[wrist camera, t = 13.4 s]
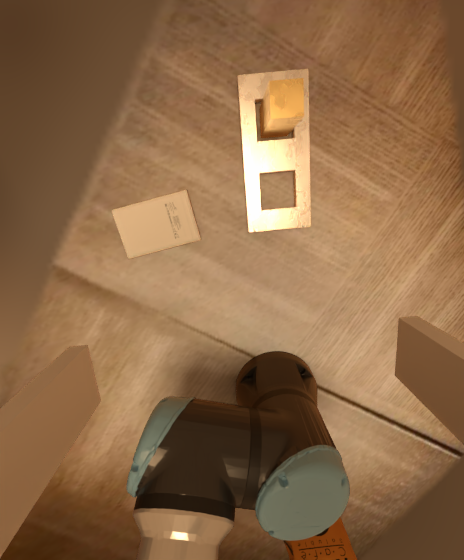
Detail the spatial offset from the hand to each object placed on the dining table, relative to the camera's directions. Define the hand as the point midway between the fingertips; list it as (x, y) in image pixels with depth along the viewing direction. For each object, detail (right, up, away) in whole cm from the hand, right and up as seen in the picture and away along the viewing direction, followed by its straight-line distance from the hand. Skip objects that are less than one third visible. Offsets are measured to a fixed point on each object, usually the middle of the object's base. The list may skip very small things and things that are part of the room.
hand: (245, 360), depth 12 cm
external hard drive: (-13, +13, +35) cm, 40 cm away
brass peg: (+6, +27, +31) cm, 42 cm away
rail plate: (+6, +22, +32) cm, 40 cm away
